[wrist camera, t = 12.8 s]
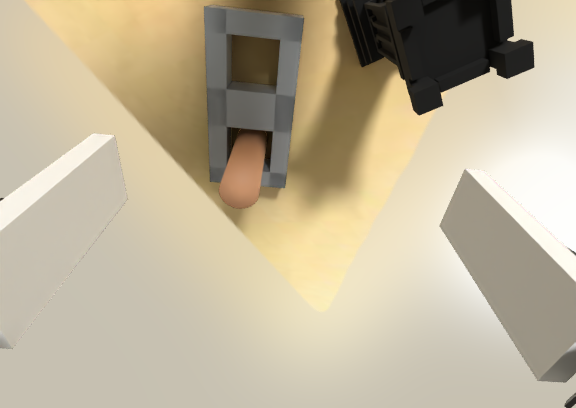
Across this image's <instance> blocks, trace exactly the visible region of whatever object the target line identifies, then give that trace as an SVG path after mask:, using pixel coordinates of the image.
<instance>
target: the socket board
mask: <svg viewBox="0 0 576 408" xmlns="http://www.w3.org/2000/svg"><path fill="white" fill-rule="evenodd" d="M204 22H205V50H206V79H207V108H208V137H209V166H210V182H220V183H221V180H222V177H223V175H224V172H225V169H226V166H227V163H228V161H229V158H230V155H231V127H233V128H243V129H254V130H264V131H273V139H272V151H271V159H266V158H264V165H263V171H262V178H261V185H260V186H265V187H276V188H285V184H286V175H287V166H288V157H289V148H290V139H291V130H292V121H293V112H294V104H295V95H296V86H297V77H298V68H299V59H300V50H301V41H302V32H303V23H304V17H303V16H302V15H294V14H285V13H277V12H268V11H260V10H251V9H243V8H234V7H226V6H217V5H209V6H204ZM232 35H241V36H250V37H259V38H268V39H277V40H280V51H279V63H278V76H277V86H274V85H265V84H256V83H246V82H237V81H232Z"/></svg>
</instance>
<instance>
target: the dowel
mask: <svg viewBox="0 0 576 408" xmlns="http://www.w3.org/2000/svg"><path fill="white" fill-rule="evenodd" d="M266 144H267V135H266V132H265V131H264V130H254V129H243V128H241V129H240V130H239V132H238V135H237V138H236V141H235V144H234V146H233V149H232V152H231V155H230V158H229V161H228V163H227V166H226V169H225V172H224V175H223V177H222V180H221V183H220V186H219V194H220V197H221V198H222V200H223V201H224V202H225V203H226V204H227V205H229V206H231V207H234V208H239V209H242V208H248V207H250V206H252V205H253V204H255V202H256V201H257V200H258V197H259V192H260V185H261V178H262V171H263V165H264V158H265V151H266Z"/></svg>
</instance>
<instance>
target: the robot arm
mask: <svg viewBox="0 0 576 408" xmlns="http://www.w3.org/2000/svg"><path fill="white" fill-rule="evenodd" d="M126 201H127V193H126V188H125V183H124V179H123V174H122V169H121V164H120V159H119V154H118V149H117V144H116V139H115V135H106V134H95V133H93V134H92V135H90V136H89V137H88V138H86V139H85V140H83V141H82V142H81V143H79V144H78V145H77V146H75V147H74V148H72V149H71V150H70V151H68V152H67V153H66V154H64V155H63V156H62V157H60V158H59V159H57V160H56V161H55V162H53V163H52V164H51V165H49V166H48V167H46V168H45V169H44V170H42V171H41V172H40V173H38V174H37V175H36V176H34V177H33V178H32V179H30V180H29V181H28V182H26V183H25V184H23V185H22V186H21V187H19V188H18V189H17V190H15V191H14V192H12V193H11V194H10V195H8V196H7V197H6V198H0V348H6V349H13V347H14V346H15V345H16V343H17V342H18V341H19V340H20V338H21V337H22V336H23V334H24V333H25V332H26V330H27V329H28V328H29V327H30V325H31V324H32V323H33V321H34V320H35V319H36V317H37V316H38V315H39V313H40V312H41V311H42V310H43V308H44V307H45V306H46V304H47V303H48V302H49V301H50V299H51V298H52V297H53V295H54V294H55V293H56V292H57V290H58V289H59V288H60V286H61V285H62V284H63V282H64V281H65V280H66V279H67V277H68V276H69V275H70V273H71V272H72V271H73V269H74V268H75V267H76V266H77V264H78V263H79V262H80V260H81V259H82V258H83V256H84V255H85V254H86V253H87V251H88V250H89V249H90V247H91V246H92V245H93V244H94V242H95V241H96V239H97V238H98V237H99V236H100V234H101V233H102V232H103V230H104V229H105V228H106V227H107V225H108V224H109V223H110V221H111V220H112V219H113V218H114V216H115V215H116V213H117V212H118V211H119V210H120V208H121V207H122V206H123V204H124V203H125V202H126ZM440 227H441V229H442V231H443V232H444V234H445V235H446V237H447V239H448V240H449V242H450V243H451V245H452V246H453V248H454V250H455V251H456V253H457V254H458V256H459V257H460V259H461V260H462V262H463V264H464V265H465V267H466V268H467V270H468V272H469V273H470V275H471V276H472V278H473V280H474V281H475V283H476V284H477V286H478V287H479V289H480V291H481V292H482V294H483V295H484V297H485V298H486V300H487V302H488V303H489V305H490V306H491V308H492V309H493V311H494V313H495V314H496V316H497V317H498V319H499V321H500V322H501V324H502V325H503V327H504V328H505V330H506V332H507V333H508V335H509V336H510V338H511V339H512V341H513V342H514V344H515V346H516V347H517V349H518V351H519V352H520V354H521V355H522V357H523V358H524V360H525V362H526V363H527V365H528V366H529V368H530V369H531V371H532V372H533V374H534V376H535V377H536V379H537V381H550V382H567V381H568V380H569V379H570V378H571V377H572V376H573V375H574V374H575V373H576V253H575V252H574V251H572V250H570V249H569V248H567V247H566V246H565V245H564V244H563V243H562V242H560V241H559V240H558V239H557V238H556V237H555V236H554V235H553V234H552V233H551V232H550V231H549V230H547V229H546V228H545V227H544V226H543V225H542V224H541V223H540V222H539V221H538V220H537V219H536V218H535V217H534V216H533V215H531V214H530V213H529V212H528V211H527V210H526V209H525V208H524V207H523V206H522V205H521V204H520V203H519V202H518V201H516V200H515V199H514V198H513V197H512V196H511V195H510V194H509V193H508V192H507V191H506V190H505V189H504V188H502V187H501V186H500V185H499V184H498V183H497V182H496V181H495V180H494V179H493V178H492V177H491V176H490V175H488V174H487V173H486V172H485V171H483V170H473V169H465V170H464V172H463V174H462V177H461V179H460V181H459V183H458V185H457V188H456V190H455V192H454V194H453V197H452V199H451V201H450V203H449V206H448V208H447V210H446V212H445V215H444V217H443V219H442V221H441V223H440ZM575 404H576V393H575V394H574V395H573V396H571V397H570V398H569V399H568V400H567V401H566V403H565V407H566V408H571V407H572V406H574V405H575Z"/></svg>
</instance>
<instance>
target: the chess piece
mask: <svg viewBox="0 0 576 408" xmlns="http://www.w3.org/2000/svg"><path fill="white" fill-rule="evenodd" d="M340 2H341V5H342V8H343V11H344V15H345V18H346V21H347V24H348V27H349V30H350V33H351V36H352V39H353V42H354V45H355V49H356V52H357V55H358V58H359V61H360V64H361V66H362V67H364V66H366V65H369V64H371V63H373V62H375V61H377V60H379V59H382V58H384V57H386V58H387V59H388V60H390V61H391V62H393V63H394V64H396V65H397V66H398V69H399V73H400V77H401V78H402V79H403V80H405V81H406V85H407V89H408V93H409V95H410V99H411V103H412V106H413V110H414V111H415V112H416V113H417V114H418V115H422V114H424V113H426V112H429V111H431V110H434V109H436V108H438V107H441V106H443V103H442V98H441V93H440V92H444V91H446V90H448V89H451V88H453V87H455V86H458V85H460V84H462V83H465V82H467V81H469V80H472V79H474V78H476V77H479V76H481V75H484V74H486V73H488V72H490V67H493V68H495V69H497V75H499V76H501V77H504V78H506V79H508V78H510V77H513V76H515V75H518V74H520V73H522V72H525V71H527V70H530V69H532V68H534V50H533V42H531V41H527V40H522V39H521V40H519V41H516V42H511V41H507V39H508V38H510V37H512V36H514V31H513V19H512V5H511V0H340Z"/></svg>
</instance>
